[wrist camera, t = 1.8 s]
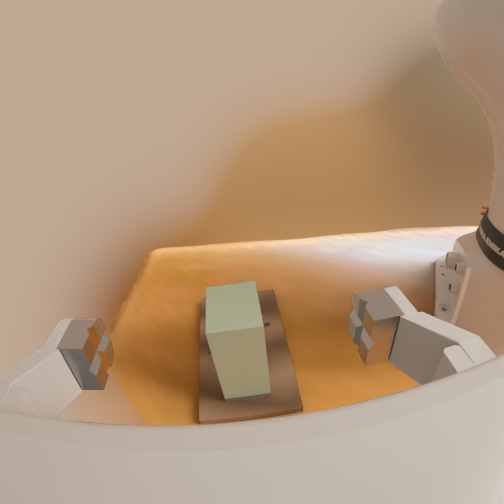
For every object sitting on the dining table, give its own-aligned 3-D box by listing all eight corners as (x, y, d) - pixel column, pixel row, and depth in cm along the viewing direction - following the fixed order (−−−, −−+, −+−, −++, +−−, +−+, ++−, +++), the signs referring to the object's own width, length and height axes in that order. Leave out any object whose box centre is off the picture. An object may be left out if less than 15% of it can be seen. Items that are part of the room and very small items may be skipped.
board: (201, 303, 44) (200, 299, 44) (273, 293, 45) (273, 289, 44) (200, 424, 28) (199, 420, 28) (302, 411, 28) (302, 407, 28)
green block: (223, 357, 35) (206, 287, 29) (263, 352, 35) (255, 280, 30) (225, 401, 29) (205, 333, 24) (271, 396, 30) (263, 325, 24)
